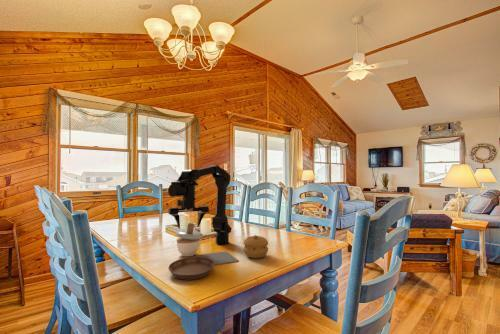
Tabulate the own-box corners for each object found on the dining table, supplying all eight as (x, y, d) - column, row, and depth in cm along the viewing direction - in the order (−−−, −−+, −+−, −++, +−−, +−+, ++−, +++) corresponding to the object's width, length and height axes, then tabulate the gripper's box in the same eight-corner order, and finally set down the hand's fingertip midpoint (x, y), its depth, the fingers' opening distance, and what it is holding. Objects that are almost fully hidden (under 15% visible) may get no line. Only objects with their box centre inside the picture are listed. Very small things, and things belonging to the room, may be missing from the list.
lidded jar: (194, 258, 119) (193, 237, 119) (172, 257, 121) (172, 237, 122) (203, 251, 129) (202, 232, 130) (183, 251, 132) (182, 232, 132)
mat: (226, 251, 131) (226, 251, 131) (238, 261, 116) (238, 260, 116) (194, 256, 123) (194, 255, 123) (203, 267, 109) (203, 266, 109)
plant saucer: (218, 278, 97) (217, 270, 97) (168, 285, 92) (168, 276, 92) (211, 262, 114) (211, 255, 114) (168, 266, 109) (168, 259, 109)
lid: (198, 231, 134) (200, 221, 134) (205, 240, 123) (208, 229, 123) (173, 229, 129) (175, 218, 128) (178, 238, 117) (180, 227, 117)
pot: (240, 254, 127) (240, 233, 127) (262, 251, 131) (262, 231, 131) (248, 262, 116) (248, 239, 116) (272, 259, 120) (272, 237, 120)
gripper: (203, 193, 138) (202, 223, 137) (166, 194, 129) (166, 226, 129) (209, 195, 128) (209, 227, 127) (170, 196, 119) (169, 230, 119)
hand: (188, 227), depth 126 cm, fingers open, 9 cm apart
